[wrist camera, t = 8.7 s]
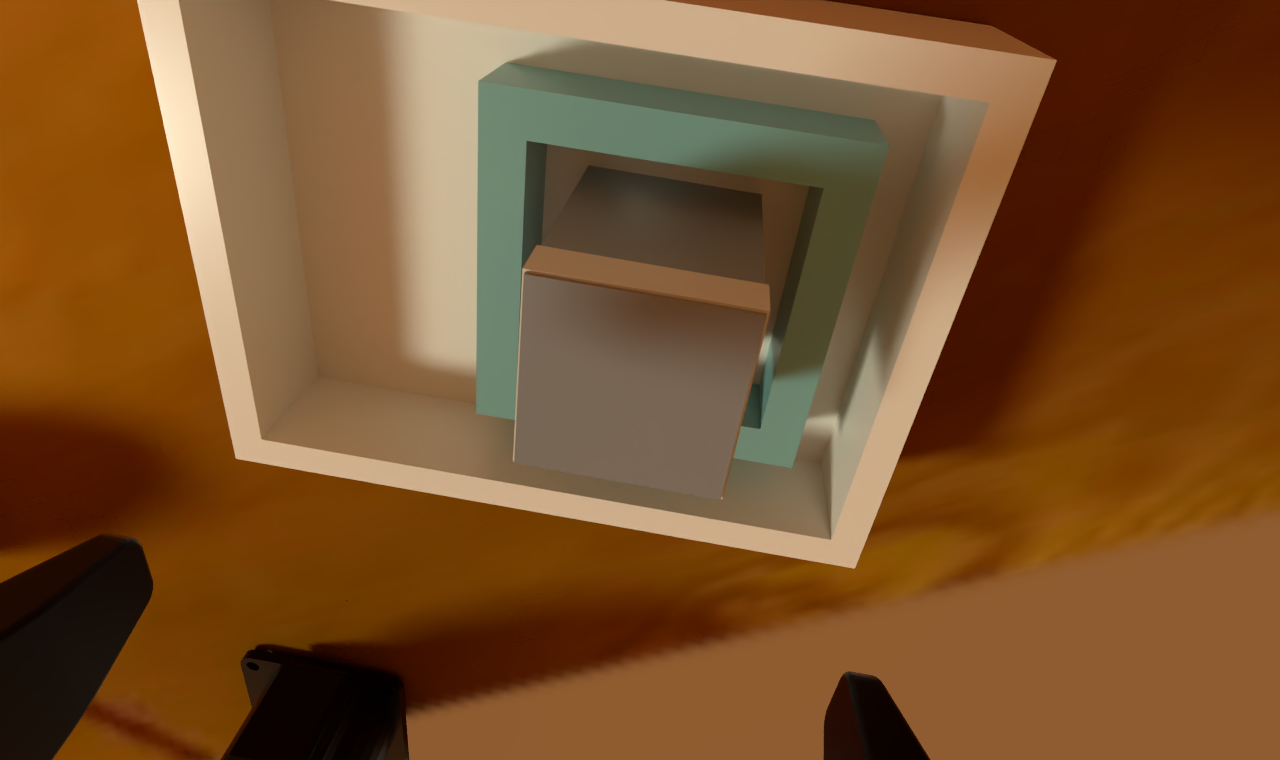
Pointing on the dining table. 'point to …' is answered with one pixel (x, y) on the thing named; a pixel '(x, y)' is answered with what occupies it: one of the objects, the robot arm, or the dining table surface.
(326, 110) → the walled box
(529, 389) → the square block
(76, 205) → the dining table surface
